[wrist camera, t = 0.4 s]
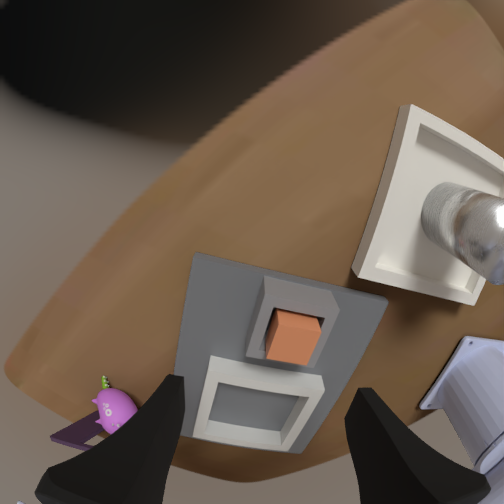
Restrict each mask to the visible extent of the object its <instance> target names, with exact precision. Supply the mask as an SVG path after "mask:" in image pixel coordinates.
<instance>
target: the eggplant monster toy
mask: <svg viewBox="0 0 504 504" xmlns="http://www.w3.org/2000/svg"><path fill="white" fill-rule="evenodd" d="M106 378H107V377H104V376H102V377H101V379H102V387H103V390H101V391H100V392H99V394H98V396H97V398H96V399H93V400H92V402H94V403H96V404H97V405H98V411H95V412H93V413H91V414H90V415H88V416H86V417H84V418H82V419H81V420H79V421H77V422H75V423H73V424H71V425H70V426H68V427H66V428H64V429H62V430H60V431H58V432H56V433H55V434H52V435H51V436H50V438H51V440H52V441H54V442H57V443H60V444H63V445H66V446H70V447H73V448H76V449H80V450H84V451H87V450H89V449H90V448H92V447H94V446H91V445H87V444H83V443H85V442H86V441H88V440H90V439H91V438H93V437H94V436H96V435H97V434H99V433H100V432H102V431H103V430H106V431H107V432H108V433H110V434H112V433H114V432H115V431H116V430H117V429H119V428H120V427H121V426H122V425H123V424H124V423H126V422H127V421H128V420H129V419H130V418H131V417H132V416H133V415H134V414H135V413H136V412H137V411H138V409H137V407H136V405H135V403H134V402H133V400H132V399H131V398H130V397H129V396H128V395H127V394H126V393H124V392H123V391H121V390H118V389H114V388H109V385H108V381H106Z"/></svg>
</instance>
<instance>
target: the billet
mask: <svg viewBox="0 0 504 504" xmlns="http://www.w3.org/2000/svg"><path fill="white" fill-rule="evenodd" d="M421 224H422V228H423V231H424V233H425V235H426V237H427V238H428V239H429V240H430V241H431V242H433V243H434V244H436V245H437V246H439V247H440V248H442V249H443V250H445V251H446V252H448V253H449V254H451V255H452V256H454V257H455V258H457V259H458V260H460V261H461V262H463V263H464V264H465V265H467V266H468V267H470V268H471V269H472V270H474V271H475V272H477V273H478V274H479V275H481V276H482V277H484V278H485V279H486V280H488V281H489V282H490V283H492V284H495V285H502V284H504V198H501V197H498V196H495V195H492V194H489V193H486V192H482V191H479V190H476V189H473V188H469V187H466V186H462V185H459V184H455V183H451V182H444V183H440V184H438V185H437V186H435V187H434V188H433V189H432V190H431V191H430V192H429V193H428V195H427V196H426V198H425V200H424V203H423V206H422V211H421Z"/></svg>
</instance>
